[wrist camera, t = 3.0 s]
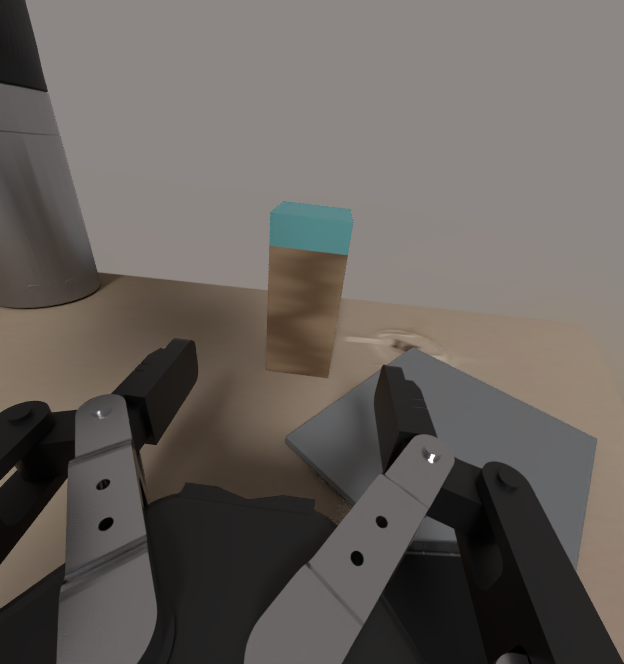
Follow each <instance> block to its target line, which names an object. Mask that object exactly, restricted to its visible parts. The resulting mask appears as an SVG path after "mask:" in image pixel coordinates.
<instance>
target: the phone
mask: <svg viewBox="0 0 624 664" xmlns="http://www.w3.org/2000/svg"><path fill="white" fill-rule="evenodd" d="M383 595H384V596H385V598H386V600H387V601H388V603H389V604H390V606H391V608H392V609H393V611H394V612H395V614H396V615H397V617H398V619H399V620H400V622H401V623H402V625H403V627H404V628H405V630H406V631H407V633H408V635H409V636H410V638H411V639H412V641H413V642H414V644H415V646H416V647H417V649H418V650H419V652H420V654H421V655H422V657H423V658H424V660H425V661H426V663H427V664H488V662H487V658H486V654H485V650H484V646H483V642H482V638H481V634H480V630H479V626H478V622H477V618H476V614H475V610H474V607H473V603H472V599H471V595H470V591H469V587H468V583H467V579H466V575H465V571H464V567H463V563H462V559H461V555H460V551H459V547H458V543H445V542H427V541H412V543H411V545H410V547H409V549H408V550H407V552H406V554H405V556H404V558H403V560H402V561H401V563H400V565H399V567H398V569H397V571H396V573H395V574H394V576H393V578H392V580H391V582H390V584H389V585H388V587H387V589H386V591H385V593H384V594H383Z"/></svg>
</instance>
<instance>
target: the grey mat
mask: <svg viewBox="0 0 624 664" xmlns="http://www.w3.org/2000/svg"><path fill="white" fill-rule="evenodd" d="M388 366H396V367H401V368H402V370H403V373H404V376H405V380H412V381H414V382H415V384H416V385H417V386H418V387H419V388H420V389H421V391H422V394H423V397H424V401H425V403H426V406H427V409H428V411H429V414H430V417H431V420H432V423H433V425H434V428H435V431H436V434H437V437H438V439H440V440H442V441H443V442H444V443H445V444H447V445H448V447H449V448H450V449H451V451H452V452H453V455H454V457H456V458H458V459H459V460H462V461H464V462H466V463H469V464H472V465H474V466H477V467H479V468H483V466H484V465H485V464H486V463H488V462H491V461H497V462H502V463H505V464H507V465H509V466H511V467H513V468H514V469H516V470H517V471H519V472H520V473H521V474H522V475H523V476H524V477H525V478H526V479H527V480H528V482H529V483H530V485H531V487H532V489H533V491H534V492H535V494H536V496H537V498H538V500H539V502H540V504H541V506H542V508H543V510H544V512H545V513H546V515H547V517H548V519H549V521H550V523H551V525H552V527H553V529H554V531H555V533H556V535H557V536H558V538H559V540H560V542H561V544H562V546H563V548H564V550H565V552H566V554H567V556H568V558H569V559H570V561H571V563H572V565H573V567H574V569H575V571H576V569H577V563H578V556H579V550H580V544H581V538H582V531H583V525H584V519H585V513H586V506H587V500H588V494H589V488H590V481H591V475H592V469H593V463H594V456H595V450H596V444H597V438H594V437H592V436H590V435H588V434H586V433H584V432H582V431H580V430H578V429H576V428H574V427H572V426H570V425H568V424H566V423H564V422H562V421H560V420H558V419H556V418H554V417H552V416H550V415H548V414H546V413H544V412H542V411H540V410H538V409H536V408H534V407H532V406H530V405H528V404H526V403H524V402H522V401H520V400H518V399H516V398H514V397H512V396H510V395H508V394H506V393H504V392H502V391H500V390H498V389H496V388H494V387H492V386H490V385H488V384H486V383H484V382H482V381H480V380H478V379H476V378H474V377H472V376H470V375H468V374H466V373H464V372H462V371H460V370H458V369H456V368H454V367H452V366H450V365H448V364H446V363H444V362H442V361H440V360H438V359H436V358H434V357H432V356H430V355H428V354H426V353H424V352H422V351H420V350H418V349H416V348H414V347H413V348H411V349H410V350H408V351H407V352H405V353H404V354H403V355H401V356H400V357H398V358H397V359H396V360H394V361H393V362H391V363H390V364H388ZM380 372H381V370H380V371H379V372H377V373H376V374H374V375H373V376H371V377H370V378H369V379H367V380H366V381H364V382H363V383H362V384H360V385H359V386H357V387H356V388H355V389H353V390H352V391H350V392H349V393H347V394H346V395H345V396H343V397H342V398H340V399H339V400H338V401H336V402H335V403H333V404H332V405H330V406H329V407H328V408H326V409H325V410H323V411H322V412H321V413H319V414H318V415H316V416H315V417H313V418H312V419H311V420H309V421H308V422H306V423H305V424H304V425H302V426H301V427H299V428H298V429H296V430H295V431H294V432H292V433H291V434H289V435H288V436H287V437H286V439H285V443H286V444H287V445H288V446H289V447H290V448H291V449H292V450H294V451H295V452H296V453H297V454H298V455H299V456H300V457H301V458H302V459H303V460H304V461H305V462H306V463H307V464H308V465H309V466H310V467H311V468H313V469H314V470H315V471H316V472H317V473H318V474H319V475H320V476H321V477H322V478H323V479H324V480H325V481H326V482H327V483H328V484H329V485H330V486H332V487H333V488H334V489H335V490H336V491H337V492H338V493H339V494H340V495H341V496H342V497H343V498H344V499H345V500H346V501H347V502H348V503H349V504H350V505H352V506H353V507H354V505H355V504H356V503H357V502H358V500H359V499H360V498H361V497H362V495H363V494H364V493H365V492H366V490H367V489H368V488H369V487H370V485H371V484H372V483H373V482H374V480H375V479H376V478H377V477H378V475H379V474H381V473H383V469H382V462H381V455H380V448H379V441H378V434H377V426H376V419H375V412H374V395H375V390H376V387H377V383H378V379H379V375H380ZM413 541H427V542H445V543H457V539H456V535H455V531H454V529H453V528H451V527H449V526H447V525H445V524H443V523H440V522H438V521H436V520H434V519H432V518H430V517H428V516H426V518H425V520H424V522H423V523H422V525H421V527H420V529H419V531H418V532H417V534H416V536H415V538H414V540H413Z"/></svg>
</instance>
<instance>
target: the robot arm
mask: <svg viewBox="0 0 624 664" xmlns="http://www.w3.org/2000/svg"><path fill="white" fill-rule="evenodd" d="M46 92H48V90H47V86H46V83H45V80H44V76H43V72H42V67H41V63H40V58H39V54H38V49H37V45H36V41H35V37H34V33H33V29H32V25H31V22H30V18H29V14H28V10H27V7H26V2H25V0H0V306H4V307H12V308H35V307H45V306H52V305H58V304H62V303H67V302H71V301H74V300H77V299H80V298H83V297H85V296H87V295H90V294H91V293H93V292H95V291H96V290H97V289H98V288H99V286H100V280H99V276H98V273H97V269H96V265H95V261H94V258H93V254H92V250H91V246H90V242H89V239H88V235H87V232H86V228H85V224H84V220H83V217H82V213H81V209H80V206H79V202H78V198H77V195H76V191H75V187H74V184H73V180H72V177H71V173H70V169H69V166H68V162H67V158H66V155H65V151H64V147H63V144H62V140H61V136H60V134H59V130H58V126H57V123H56V119H55V115H54V112H53V108H52V104H51V101H50V97H49V94H48V93H46ZM197 377H198V364H197V355H196V346H195V342H194V341H193V340H185V339H177V338H175V339H173V340H172V341H171V342H170V343H169V344H168V345H167V347H166V348H165V349H162V348H160V349H158V350H156V351H154V352H153V353H151V354H149V355H148V356H147V357H146V358H145V359H144V360H143V361H142V362H141V364H139V365H138V366H137V367H136V368H135V371H133V372H132V373H131V374H130V375H129V376H128V377H127V378H126V379H125V380H124V381H123V382H122V383H121V384H120V385H119V386H118V387H117V388H116V389H115V390H114V391H113V392H112V393H111V394H106V395H101V396H97V397H95V398H92V399H90V400H88V401H87V402H85V403H84V404H83V405H81V406H80V407H79V409H78V410H71V411H61V412H51V410H50V408H49V406H48V405H47V404H46V403H45V402H42V401H28V402H23V403H20V404H17V405H14V406H12V407H9V408H7V409H5V410H4V411H2V412H1V413H0V480H1V479H2V478H3V477H4V476H5V475H6V474H7V473H8V472H9V471H10V470H11V469H12V468H13V467H14V466H15V467H16V469H17V471H16V472H15V473H14V474H13V475H12V476H11V477H10V478H9V479H8V480H7V481H6V482H5V483H4V484H3V485H2V486H1V487H0V564H1V563H2V562H3V560H4V559H5V558H6V557H7V555H8V554H9V553H10V551H11V550H12V549H13V548H14V546H15V545H16V544H17V542H18V541H19V540H20V539H21V537H22V536H23V535H24V533H25V532H26V531H27V529H28V528H29V527H30V526H31V524H32V523H33V522H34V520H35V519H36V518H37V517H38V515H39V514H40V513H41V511H42V510H43V509H44V507H45V506H46V505H47V504H48V502H49V501H50V500H51V498H52V497H53V496H54V495H55V493H56V492H57V491H58V489H59V488H60V487H61V485H62V484H63V483H64V482H65V480H66V479H67V478H68V490H67V527H66V562H65V563H64V564H63V565H61V566H60V567H58V568H57V569H56V570H54V571H53V572H51V573H50V574H49V575H47V576H46V577H44V578H43V579H41V580H40V581H39V582H37V583H36V584H34V585H33V586H32V587H30V588H29V589H27V590H26V591H25V592H23V593H22V594H20V595H19V596H18V597H16V598H15V599H13V600H12V601H11V602H9V603H8V604H6V605H5V606H4V607H2V608H1V609H0V664H427V663H426V661H425V660H424V658H423V657H422V655H421V654H420V652H419V650H418V649H417V647H416V646H415V644H414V642H413V641H412V639H411V638H410V636H409V635H408V633H407V631H406V630H405V628H404V627H403V625H402V623H401V622H400V620H399V619H398V617H397V615H396V614H395V612H394V611H393V609H392V608H391V606H390V604H389V603H388V601H387V600H386V598H385V596H384V595H383V594H384V593H385V591H386V589H387V587H388V585H389V584H390V582H391V580H392V578H393V576H394V574H395V573H396V571H397V569H398V567H399V565H400V563H401V561H402V560H403V558H404V556H405V554H406V552H407V550H408V549H409V547H410V545H411V543H412V541H413V540H414V538H415V536H416V534H417V532H418V531H419V529H420V527H421V525H422V523H423V522H424V520H425V518H426V516H428V517H430V518H432V519H434V520H436V521H438V522H440V523H443V524H445V525H447V526H449V527H451V528H453V529H454V531H455V535H456V539H457V543H458V547H459V551H460V555H461V559H462V563H463V567H464V571H465V575H466V579H467V583H468V587H469V591H470V595H471V599H472V603H473V607H474V610H475V614H476V618H477V622H478V626H479V630H480V634H481V638H482V642H483V646H484V650H485V654H486V658H487V662H488V664H624V663H623V661H622V659H621V657H620V655H619V653H618V651H617V649H616V648H615V646H614V644H613V642H612V640H611V638H610V636H609V634H608V632H607V630H606V628H605V626H604V625H603V623H602V621H601V619H600V617H599V615H598V613H597V611H596V609H595V607H594V605H593V603H592V602H591V600H590V598H589V596H588V594H587V592H586V590H585V588H584V586H583V584H582V582H581V581H580V579H579V577H578V575H577V573H576V571H575V569H574V567H573V565H572V563H571V561H570V559H569V558H568V556H567V554H566V552H565V550H564V548H563V546H562V544H561V542H560V540H559V538H558V536H557V535H556V533H555V531H554V529H553V527H552V525H551V523H550V521H549V519H548V517H547V515H546V513H545V512H544V510H543V508H542V506H541V504H540V502H539V500H538V498H537V496H536V494H535V492H534V491H533V489H532V487H531V485H530V483H529V482H528V480H527V479H526V478H525V477H524V476H523V475H522V474H521V473H520V472H519V471H517V470H516V469H514V468H513V467H511V466H509V465H507V464H505V463H502V462H497V461H491V462H488V463H486V464H485V465H484V466H483V468H479V467H477V466H474V465H472V464H469V463H466V462H464V461H462V460H459V459H458V458H456V457H454V455H453V452H452V451H451V449H450V448H449V447H448V445H447V444H445V443H444V442H443V441H442V440H440V439H438V437H437V434H436V431H435V428H434V425H433V423H432V420H431V417H430V414H429V411H428V409H427V406H426V403H425V401H424V397H423V394H422V391H421V389H420V388H419V387H418V386H417V385H416V384H415V382H414V381H412V380H405V376H404V373H403V370H402V368H401V367H396V366H388V365H383V366H382V368H381V372H380V375H379V379H378V383H377V387H376V390H375V395H374V412H375V419H376V426H377V434H378V441H379V448H380V455H381V462H382V469H383V473H381V474H379V475H378V477H377V478H376V479H375V480H374V482H373V483H372V484H371V485H370V487H369V488H368V489H367V490H366V492H365V493H364V494H363V495H362V497H361V498H360V499H359V500H358V502H357V503H356V504H355V505H354V507H353V508H352V509H351V510H350V512H349V513H348V514H347V515H346V517H345V518H344V519H343V520H342V522H341V523H340V524H339V525H338V526H337V525H336V524H335V523H334V522H333V521H332V520H330V519H329V518H328V517H326V516H324V515H323V514H321V513H319V512H317V511H315V510H314V502H315V500H314V499H306V498H299V497H291V496H284V495H282V496H274V497H266V498H257V499H245V498H243V497H240V496H238V495H236V494H233V493H231V492H229V491H226V490H224V489H222V488H219V487H216V486H209V485H201V484H194V483H185V486H184V488H183V490H182V492H181V493H178V494H173V495H169V496H166V497H163V498H160V499H158V500H156V501H154V502H152V503H150V499H149V495H148V490H147V484H146V479H145V474H144V469H143V464H142V458H141V454H140V449H141V448H142V446H143V445H144V443H145V444H152V445H157V443H158V442H159V440H160V438H161V437H162V435H163V434H164V432H165V431H166V429H167V427H168V426H169V424H170V423H171V421H172V419H173V418H174V416H175V415H176V413H177V412H178V410H179V408H180V407H181V405H182V404H183V402H184V401H185V399H186V397H187V396H188V394H189V393H190V391H191V389H192V388H193V386H194V385H195V383H196V380H197Z"/></svg>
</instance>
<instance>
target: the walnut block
mask: <svg viewBox="0 0 624 664" xmlns="http://www.w3.org/2000/svg"><path fill="white" fill-rule="evenodd" d="M352 226H353V219H352V214H351V210H350V209H345V208H336V207H328V206H319V205H311V204H303V203H294V202H286V201H283V202H282V203H281V204H280V205H278V206H277V207H276V208H275V209H274V210H273V211H271V213H270V244H269V245H270V246H269V281H268V315H267V351H266V370H269V371H277V372H284V373H292V374H300V375H308V376H316V377H323V378H328V374H329V368H330V361H331V355H332V349H333V343H334V337H335V331H336V325H337V318H338V312H339V306H340V300H341V294H342V288H343V281H344V275H345V269H346V263H347V257H348V250H349V245H350V238H351V232H352Z"/></svg>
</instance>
